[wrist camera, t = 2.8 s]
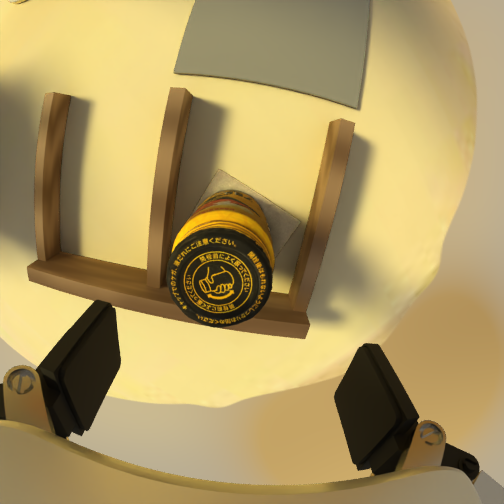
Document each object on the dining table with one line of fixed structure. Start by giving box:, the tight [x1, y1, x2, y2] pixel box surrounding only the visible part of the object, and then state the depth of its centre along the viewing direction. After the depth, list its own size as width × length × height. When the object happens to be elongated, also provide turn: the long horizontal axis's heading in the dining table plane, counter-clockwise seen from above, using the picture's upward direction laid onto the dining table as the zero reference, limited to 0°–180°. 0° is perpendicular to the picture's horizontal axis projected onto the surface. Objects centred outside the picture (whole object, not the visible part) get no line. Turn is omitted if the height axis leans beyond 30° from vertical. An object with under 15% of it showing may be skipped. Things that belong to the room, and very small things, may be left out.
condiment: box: [166, 169, 301, 328], centre depth 19 cm, size 7×8×12 cm
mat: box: [174, 0, 370, 109], centre depth 17 cm, size 16×16×1 cm
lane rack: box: [27, 87, 355, 339], centre depth 21 cm, size 18×27×5 cm, turn 79°
